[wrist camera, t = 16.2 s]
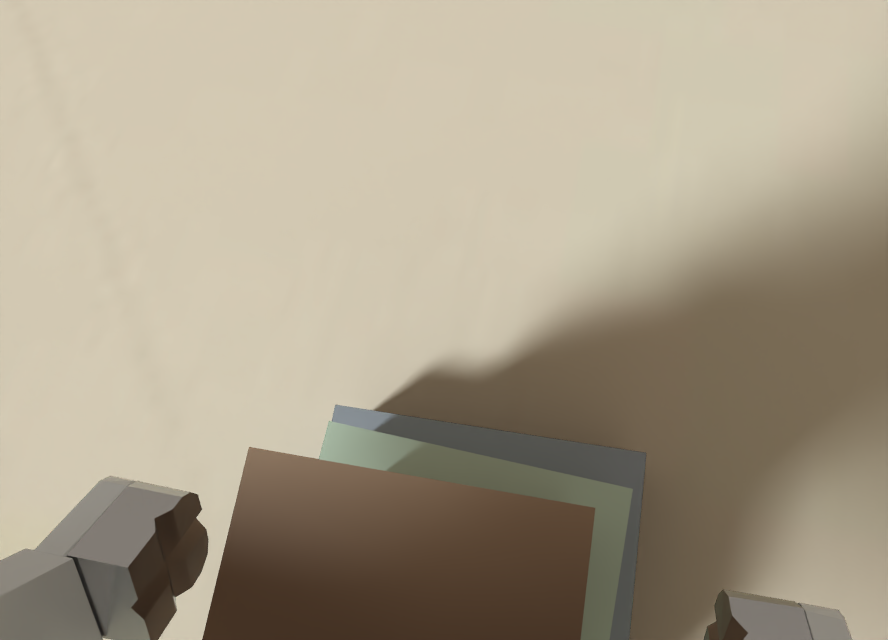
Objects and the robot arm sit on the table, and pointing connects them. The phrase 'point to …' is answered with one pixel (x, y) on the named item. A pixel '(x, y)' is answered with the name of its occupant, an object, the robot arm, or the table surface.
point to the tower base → (538, 453)
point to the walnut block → (395, 558)
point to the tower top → (512, 478)
